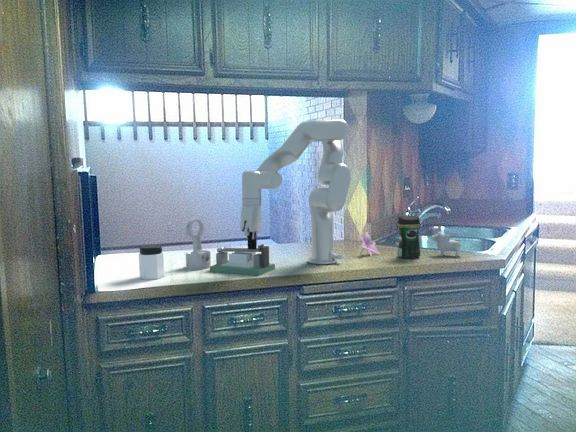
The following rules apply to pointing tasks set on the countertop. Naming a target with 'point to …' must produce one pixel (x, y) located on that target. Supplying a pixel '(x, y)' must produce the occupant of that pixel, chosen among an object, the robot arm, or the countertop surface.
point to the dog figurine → (446, 243)
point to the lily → (368, 244)
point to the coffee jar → (408, 237)
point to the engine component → (197, 249)
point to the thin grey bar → (239, 249)
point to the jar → (151, 262)
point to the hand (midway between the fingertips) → (252, 248)
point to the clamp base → (241, 270)
